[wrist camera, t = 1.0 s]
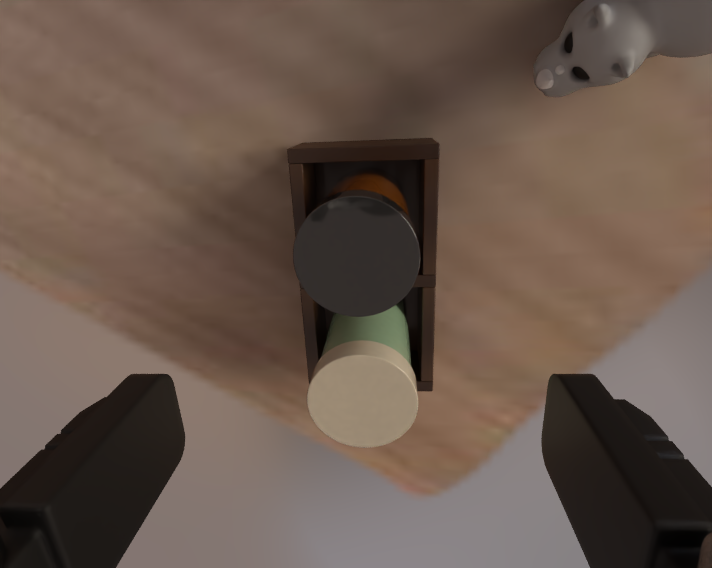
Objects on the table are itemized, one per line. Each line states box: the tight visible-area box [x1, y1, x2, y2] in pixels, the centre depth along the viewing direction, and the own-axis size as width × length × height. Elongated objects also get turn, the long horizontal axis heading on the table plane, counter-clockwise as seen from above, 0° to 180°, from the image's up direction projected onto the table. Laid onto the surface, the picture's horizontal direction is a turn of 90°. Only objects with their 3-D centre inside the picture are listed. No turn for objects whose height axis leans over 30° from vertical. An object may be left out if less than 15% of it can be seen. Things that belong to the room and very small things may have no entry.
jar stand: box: [287, 138, 440, 391], centre depth 29 cm, size 16×8×5 cm, turn 2°
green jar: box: [307, 298, 418, 448], centre depth 27 cm, size 6×6×11 cm
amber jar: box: [293, 167, 420, 317], centre depth 25 cm, size 6×6×11 cm
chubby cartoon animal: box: [533, 0, 712, 97], centre depth 21 cm, size 7×12×8 cm, turn 124°
